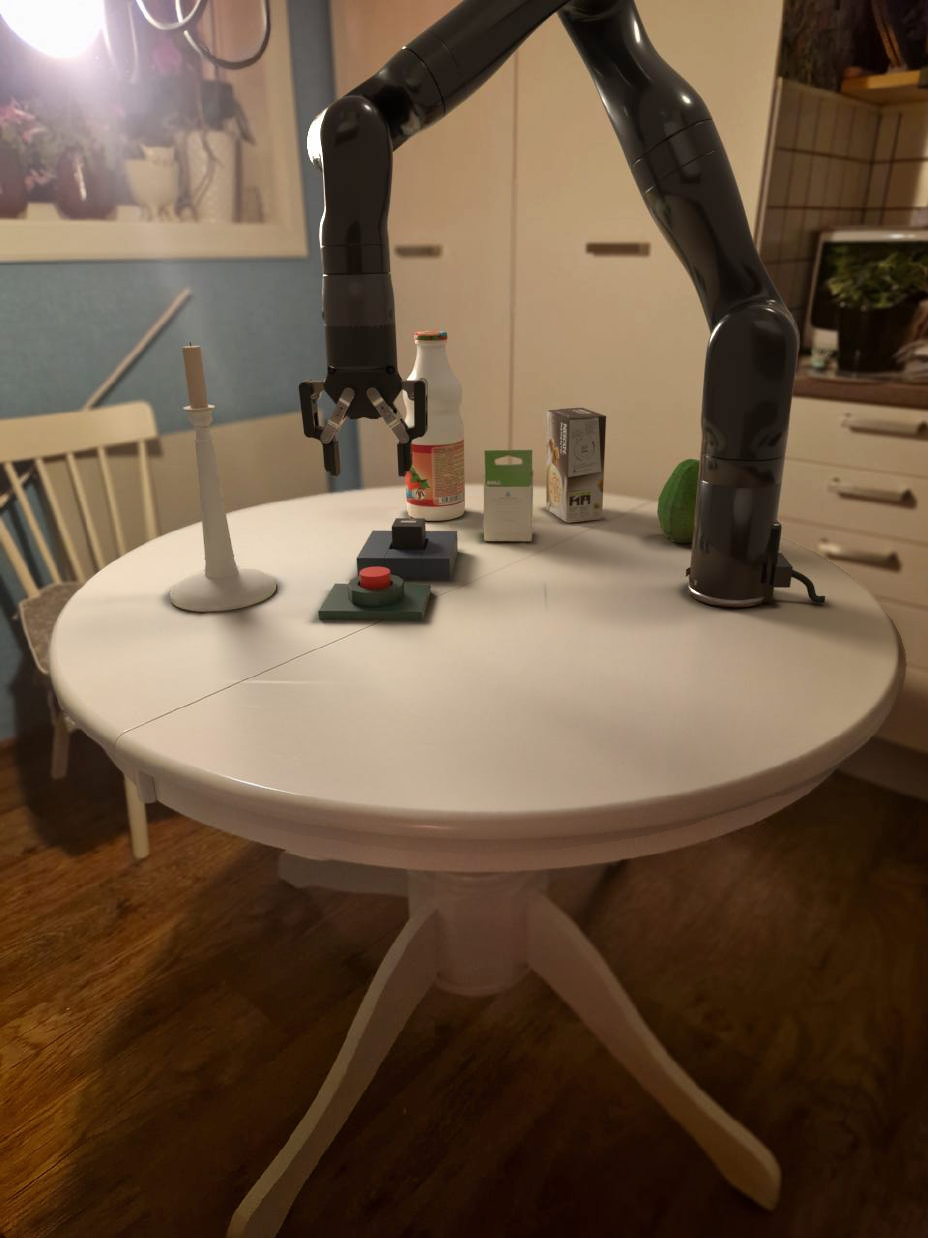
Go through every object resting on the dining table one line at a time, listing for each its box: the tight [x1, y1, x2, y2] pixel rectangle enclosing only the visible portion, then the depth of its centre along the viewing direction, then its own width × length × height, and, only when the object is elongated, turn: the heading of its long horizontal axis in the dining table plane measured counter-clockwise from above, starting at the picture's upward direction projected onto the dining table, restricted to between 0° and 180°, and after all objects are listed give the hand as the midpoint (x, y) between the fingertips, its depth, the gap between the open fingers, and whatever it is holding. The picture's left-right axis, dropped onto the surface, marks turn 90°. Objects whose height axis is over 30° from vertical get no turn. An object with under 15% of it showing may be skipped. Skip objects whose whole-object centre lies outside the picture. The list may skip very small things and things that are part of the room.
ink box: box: [483, 449, 534, 542], centre depth 124 cm, size 7×4×13 cm, turn 84°
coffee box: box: [545, 407, 607, 524], centre depth 135 cm, size 9×6×16 cm
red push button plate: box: [317, 574, 432, 622], centre depth 102 cm, size 12×9×3 cm
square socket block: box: [356, 530, 459, 581], centre depth 116 cm, size 12×12×3 cm
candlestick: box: [169, 341, 277, 613], centre depth 102 cm, size 13×13×30 cm
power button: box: [359, 567, 391, 589], centre depth 102 cm, size 4×4×2 cm
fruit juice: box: [402, 330, 466, 522], centre depth 134 cm, size 9×9×28 cm
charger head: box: [391, 517, 427, 550], centre depth 115 cm, size 4×4×6 cm
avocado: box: [656, 458, 700, 545], centre depth 122 cm, size 8×8×12 cm
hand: (368, 474), depth 97 cm, fingers open, 7 cm apart
